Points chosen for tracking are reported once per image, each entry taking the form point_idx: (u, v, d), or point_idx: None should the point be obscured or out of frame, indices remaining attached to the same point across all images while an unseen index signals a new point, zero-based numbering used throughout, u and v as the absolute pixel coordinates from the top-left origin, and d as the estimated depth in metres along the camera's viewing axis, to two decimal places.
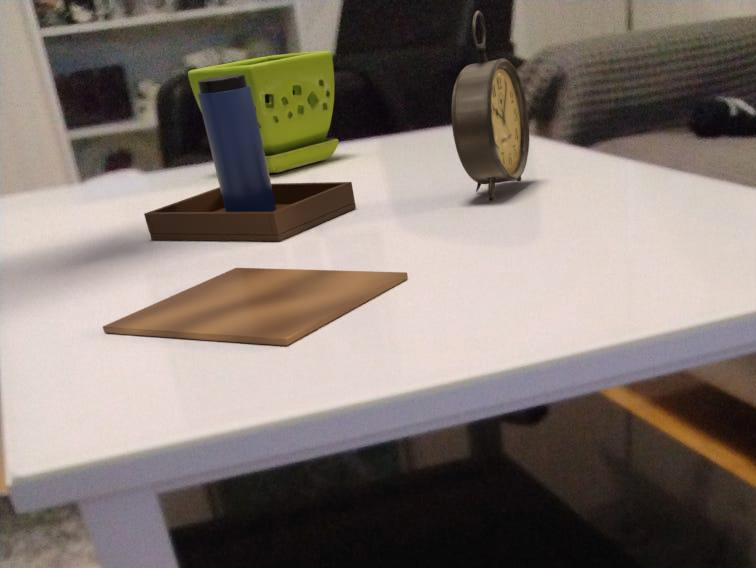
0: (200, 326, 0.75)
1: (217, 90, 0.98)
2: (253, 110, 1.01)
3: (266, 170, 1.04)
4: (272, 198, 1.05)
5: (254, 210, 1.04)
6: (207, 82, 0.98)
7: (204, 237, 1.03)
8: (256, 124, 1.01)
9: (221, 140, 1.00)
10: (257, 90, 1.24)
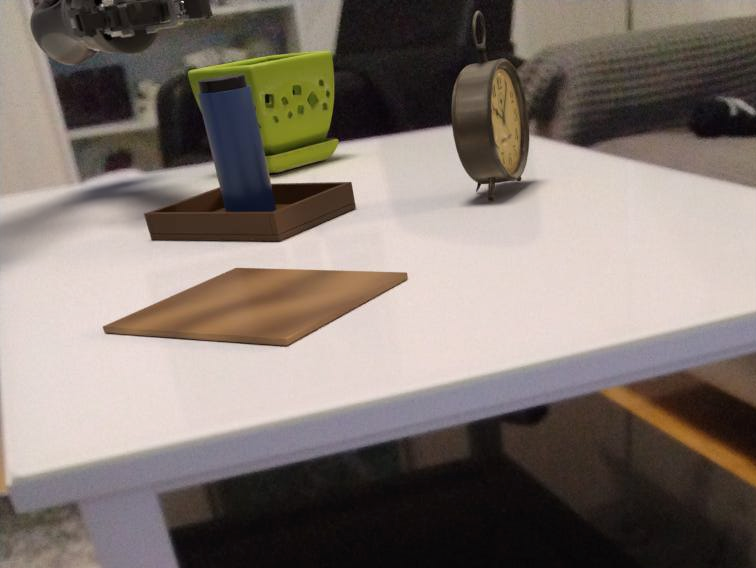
0: (200, 326, 0.75)
1: (217, 90, 0.98)
2: (253, 110, 1.01)
3: (266, 170, 1.04)
4: (272, 198, 1.05)
5: (254, 210, 1.04)
6: (207, 82, 0.98)
7: (204, 237, 1.03)
8: (256, 124, 1.01)
9: (221, 140, 1.00)
10: (257, 90, 1.24)
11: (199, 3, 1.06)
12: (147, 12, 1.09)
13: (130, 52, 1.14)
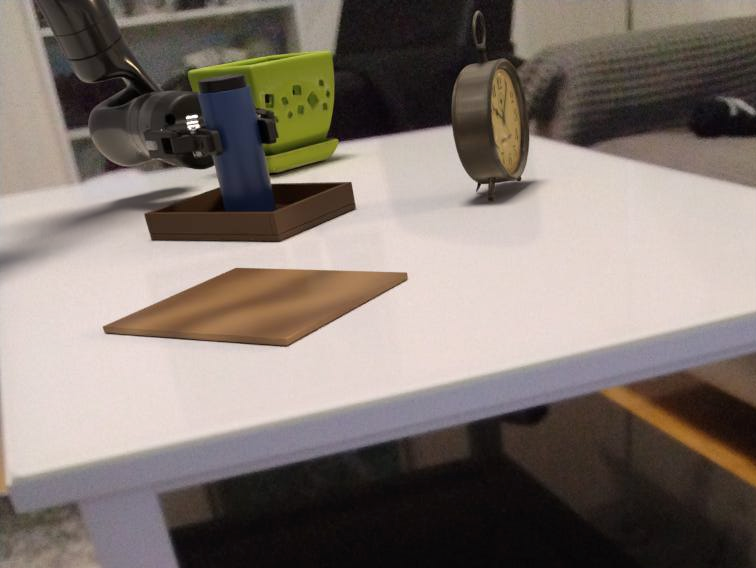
0: (200, 326, 0.75)
1: (217, 90, 0.98)
2: (253, 110, 1.01)
3: (266, 170, 1.04)
4: (272, 198, 1.05)
5: (254, 210, 1.04)
6: (207, 82, 0.98)
7: (204, 237, 1.03)
8: (256, 124, 1.01)
9: (221, 140, 1.00)
10: (257, 90, 1.24)
11: (268, 130, 1.02)
12: None
13: (200, 168, 1.11)
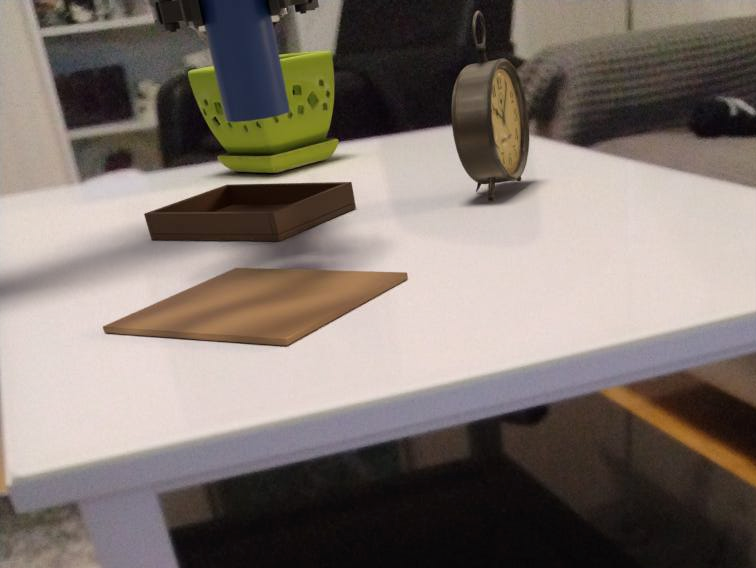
0: (200, 326, 0.75)
1: None
2: None
3: (269, 52, 0.79)
4: (276, 91, 0.80)
5: (246, 104, 0.80)
6: None
7: (204, 237, 1.03)
8: None
9: (206, 6, 0.77)
10: None
11: None
12: None
13: None
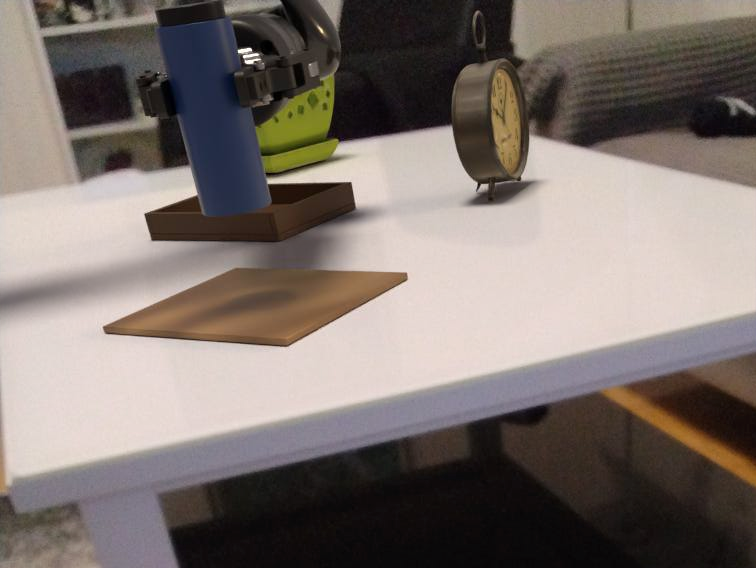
0: (200, 326, 0.75)
1: (164, 24, 0.68)
2: (221, 56, 0.69)
3: (241, 144, 0.72)
4: (251, 185, 0.74)
5: (216, 200, 0.74)
6: (156, 11, 0.68)
7: (204, 237, 1.03)
8: (224, 77, 0.70)
9: (174, 97, 0.71)
10: None
11: (236, 87, 0.69)
12: None
13: None
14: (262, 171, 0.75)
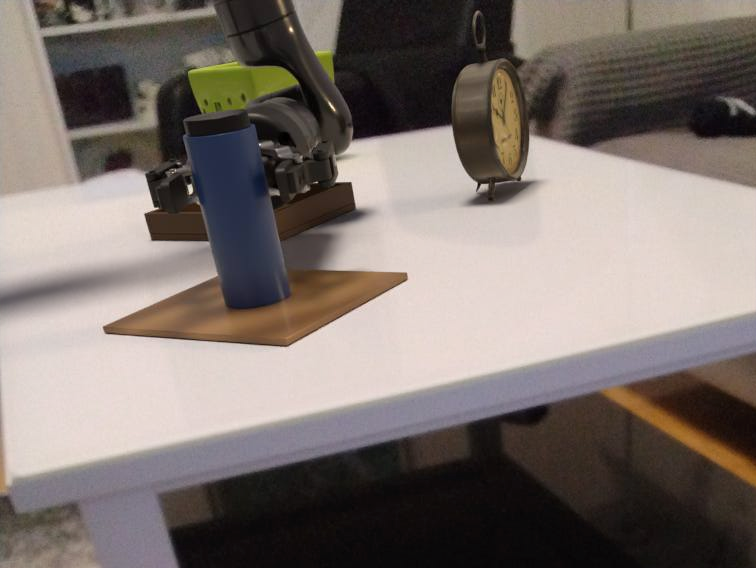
0: (200, 326, 0.75)
1: (192, 134, 0.72)
2: (245, 163, 0.73)
3: (264, 243, 0.76)
4: (272, 279, 0.78)
5: (239, 293, 0.77)
6: (184, 122, 0.72)
7: (204, 237, 1.03)
8: (248, 182, 0.74)
9: (201, 199, 0.75)
10: (257, 90, 1.24)
11: (277, 182, 0.73)
12: None
13: None
14: (282, 265, 0.78)
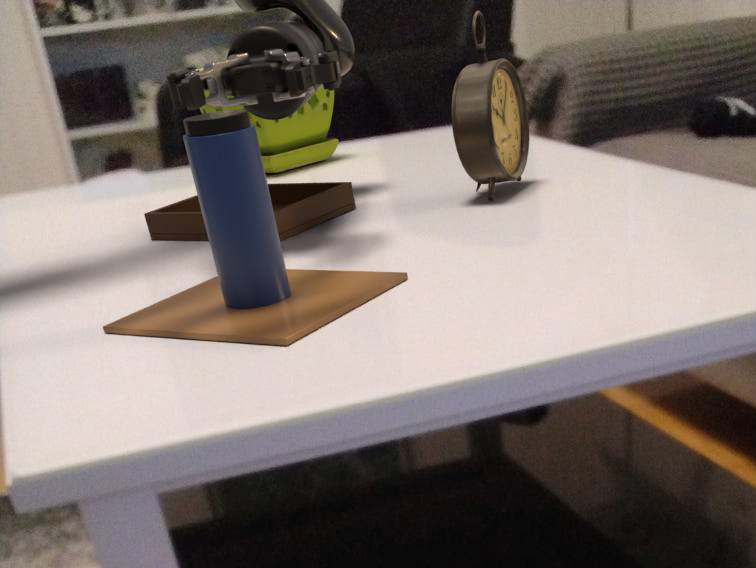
0: (200, 326, 0.75)
1: (192, 134, 0.72)
2: (245, 163, 0.73)
3: (264, 243, 0.76)
4: (272, 279, 0.78)
5: (239, 293, 0.77)
6: (184, 122, 0.72)
7: (204, 237, 1.03)
8: (248, 182, 0.74)
9: (201, 199, 0.75)
10: None
11: (286, 79, 0.81)
12: (259, 79, 0.87)
13: (268, 118, 0.94)
14: (282, 265, 0.78)
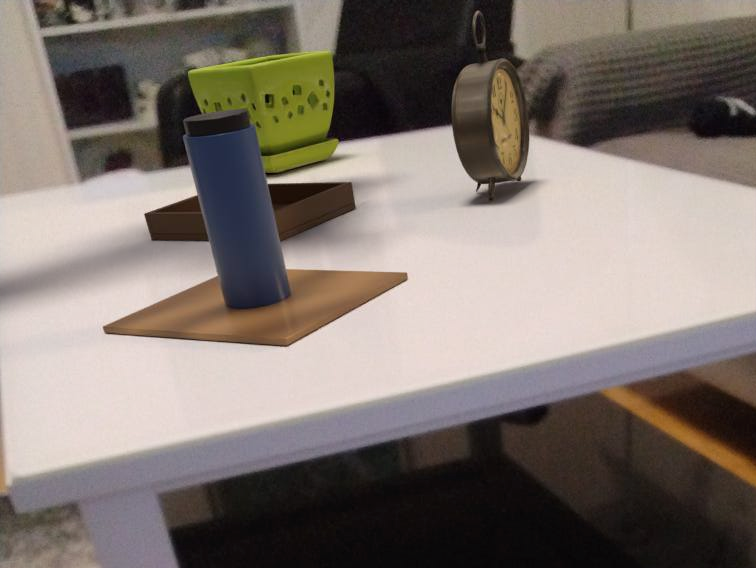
0: (200, 326, 0.75)
1: (192, 134, 0.72)
2: (245, 163, 0.73)
3: (264, 243, 0.76)
4: (272, 279, 0.78)
5: (239, 293, 0.77)
6: (184, 122, 0.72)
7: (204, 237, 1.03)
8: (248, 182, 0.74)
9: (201, 199, 0.75)
10: (257, 90, 1.24)
11: None
12: None
13: None
14: (282, 265, 0.78)
